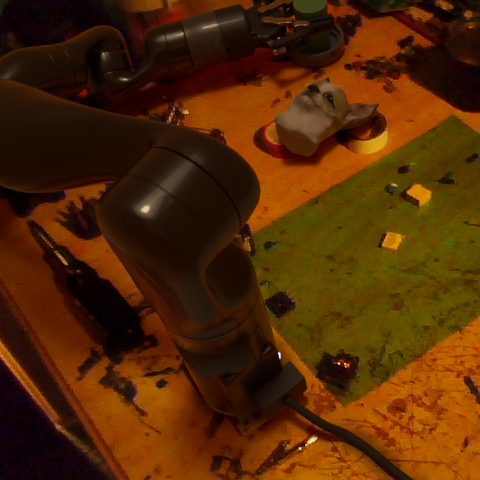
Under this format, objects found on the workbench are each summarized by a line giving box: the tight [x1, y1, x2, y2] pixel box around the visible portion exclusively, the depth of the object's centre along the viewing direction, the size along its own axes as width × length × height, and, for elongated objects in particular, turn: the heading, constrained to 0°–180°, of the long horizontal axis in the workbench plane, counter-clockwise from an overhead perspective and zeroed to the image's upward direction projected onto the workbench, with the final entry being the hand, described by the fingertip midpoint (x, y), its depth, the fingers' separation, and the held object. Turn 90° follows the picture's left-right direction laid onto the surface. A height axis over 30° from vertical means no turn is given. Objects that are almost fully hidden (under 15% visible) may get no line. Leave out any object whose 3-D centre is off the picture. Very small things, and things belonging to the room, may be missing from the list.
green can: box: [293, 0, 330, 54], centre depth 101 cm, size 5×5×8 cm
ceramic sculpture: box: [273, 77, 380, 158], centre depth 91 cm, size 11×9×15 cm
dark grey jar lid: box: [286, 22, 346, 69], centre depth 104 cm, size 9×9×2 cm
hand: (328, 10), depth 100 cm, fingers closed on green can, 5 cm apart
